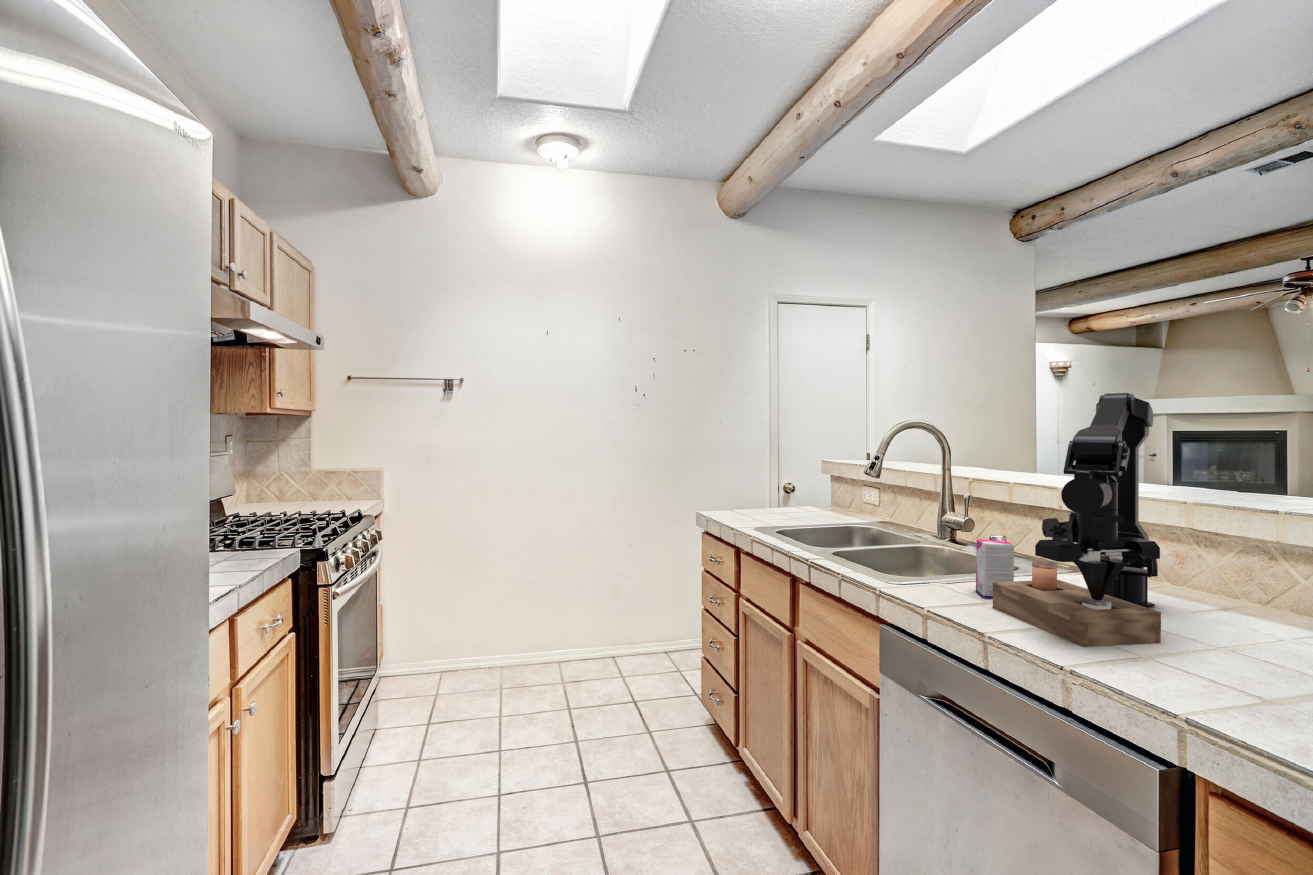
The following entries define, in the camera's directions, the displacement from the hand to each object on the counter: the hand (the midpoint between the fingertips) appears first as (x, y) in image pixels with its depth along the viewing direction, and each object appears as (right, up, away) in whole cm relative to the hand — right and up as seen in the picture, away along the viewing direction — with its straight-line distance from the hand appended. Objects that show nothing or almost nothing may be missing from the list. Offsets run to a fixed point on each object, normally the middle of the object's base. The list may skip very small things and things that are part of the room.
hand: (1096, 599), depth 105 cm
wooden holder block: (-1, -6, +6) cm, 8 cm away
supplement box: (-4, -6, +25) cm, 26 cm away
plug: (0, -5, 0) cm, 5 cm away
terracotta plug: (-1, -2, +12) cm, 12 cm away
